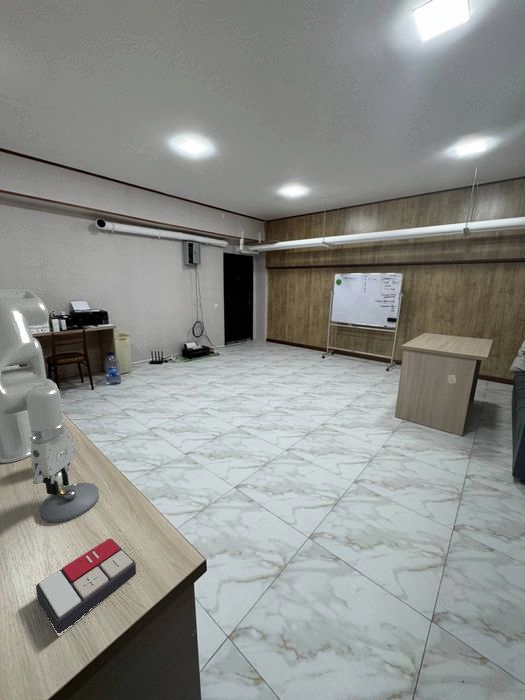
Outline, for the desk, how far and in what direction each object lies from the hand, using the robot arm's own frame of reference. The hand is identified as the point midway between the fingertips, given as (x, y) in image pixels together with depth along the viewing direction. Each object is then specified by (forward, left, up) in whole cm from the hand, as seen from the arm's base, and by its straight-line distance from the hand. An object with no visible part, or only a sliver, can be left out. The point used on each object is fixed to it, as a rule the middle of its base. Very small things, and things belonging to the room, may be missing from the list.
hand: (58, 488), depth 84 cm
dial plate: (+3, +3, -4) cm, 6 cm away
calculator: (+31, +12, -4) cm, 33 cm away
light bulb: (+1, +1, -2) cm, 2 cm away
